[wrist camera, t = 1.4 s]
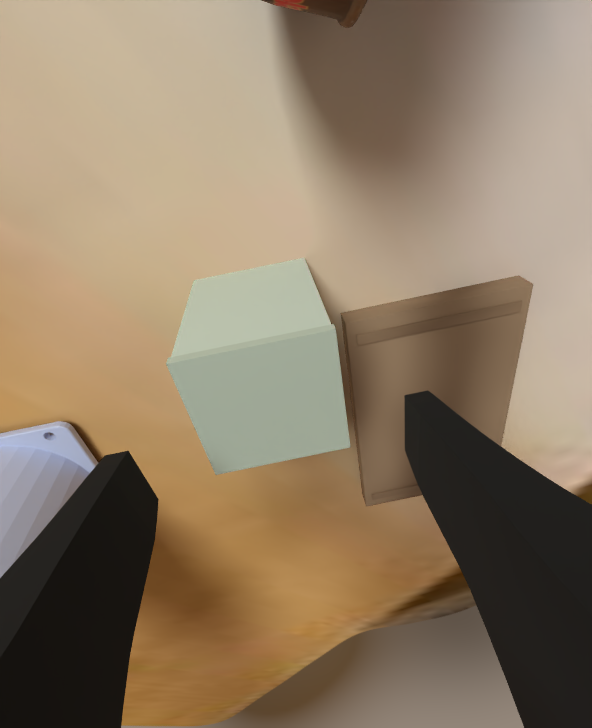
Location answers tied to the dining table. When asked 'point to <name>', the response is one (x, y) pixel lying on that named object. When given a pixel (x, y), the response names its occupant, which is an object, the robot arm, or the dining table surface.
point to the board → (430, 370)
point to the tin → (327, 8)
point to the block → (260, 368)
